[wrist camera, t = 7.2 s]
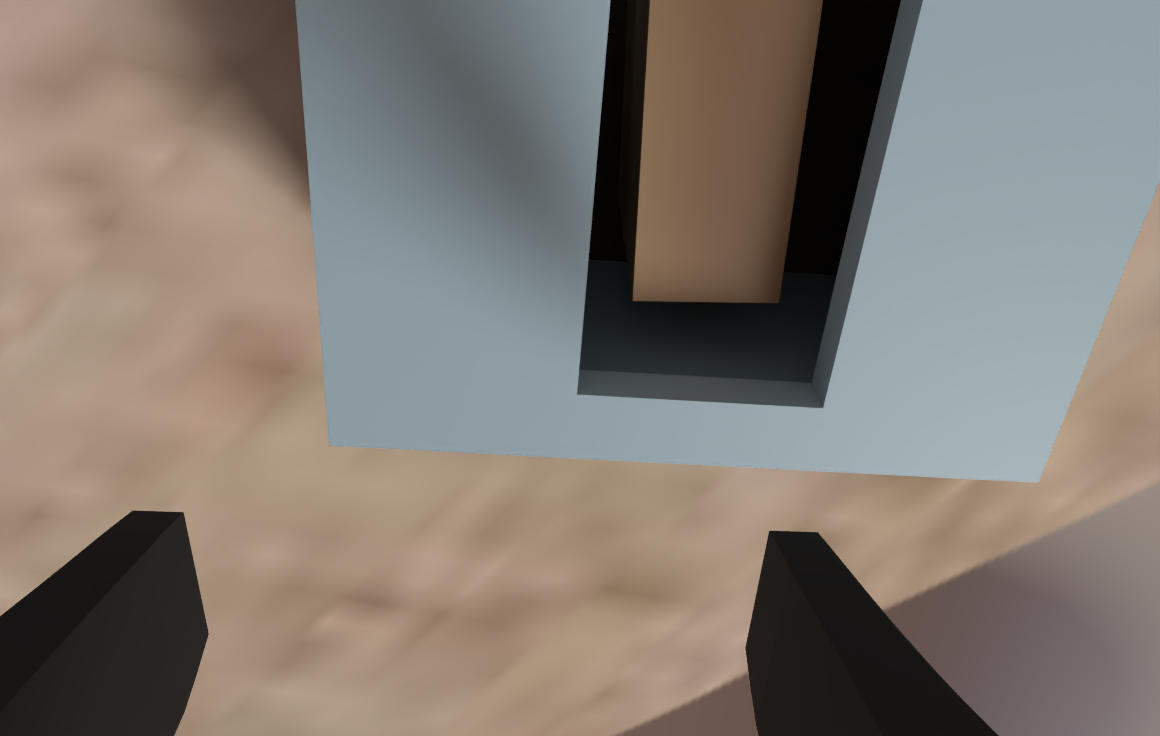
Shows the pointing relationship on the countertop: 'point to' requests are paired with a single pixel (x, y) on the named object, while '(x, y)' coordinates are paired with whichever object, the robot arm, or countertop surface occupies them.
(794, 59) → the block
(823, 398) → the box
